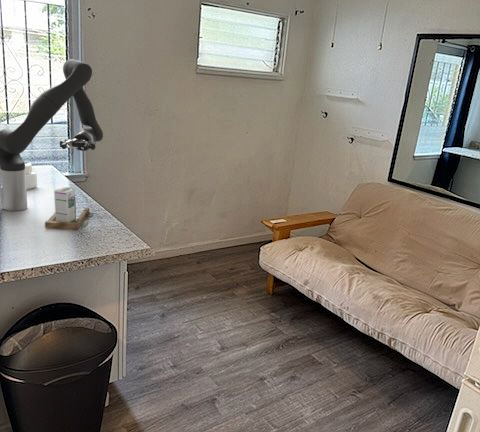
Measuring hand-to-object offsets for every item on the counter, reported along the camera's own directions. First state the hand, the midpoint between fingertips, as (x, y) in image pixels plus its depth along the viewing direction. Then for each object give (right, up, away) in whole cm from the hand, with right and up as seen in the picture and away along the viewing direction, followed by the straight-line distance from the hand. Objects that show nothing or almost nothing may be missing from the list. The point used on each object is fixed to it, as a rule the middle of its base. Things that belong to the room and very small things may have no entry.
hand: (74, 147), depth 184 cm
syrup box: (-2, -32, -5) cm, 32 cm away
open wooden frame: (-1, -30, -1) cm, 30 cm away
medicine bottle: (-36, -14, +33) cm, 51 cm away
